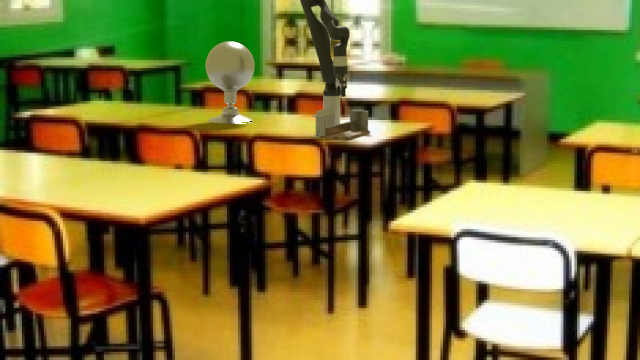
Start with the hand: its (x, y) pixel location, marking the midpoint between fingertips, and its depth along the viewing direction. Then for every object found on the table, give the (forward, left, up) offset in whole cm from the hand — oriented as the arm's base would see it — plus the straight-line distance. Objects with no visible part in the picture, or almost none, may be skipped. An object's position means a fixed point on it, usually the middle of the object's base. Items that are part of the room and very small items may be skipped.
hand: (341, 96), depth 529 cm
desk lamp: (-75, +18, -19) cm, 80 cm away
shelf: (+11, -17, -19) cm, 27 cm away
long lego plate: (-2, -18, -19) cm, 26 cm away
